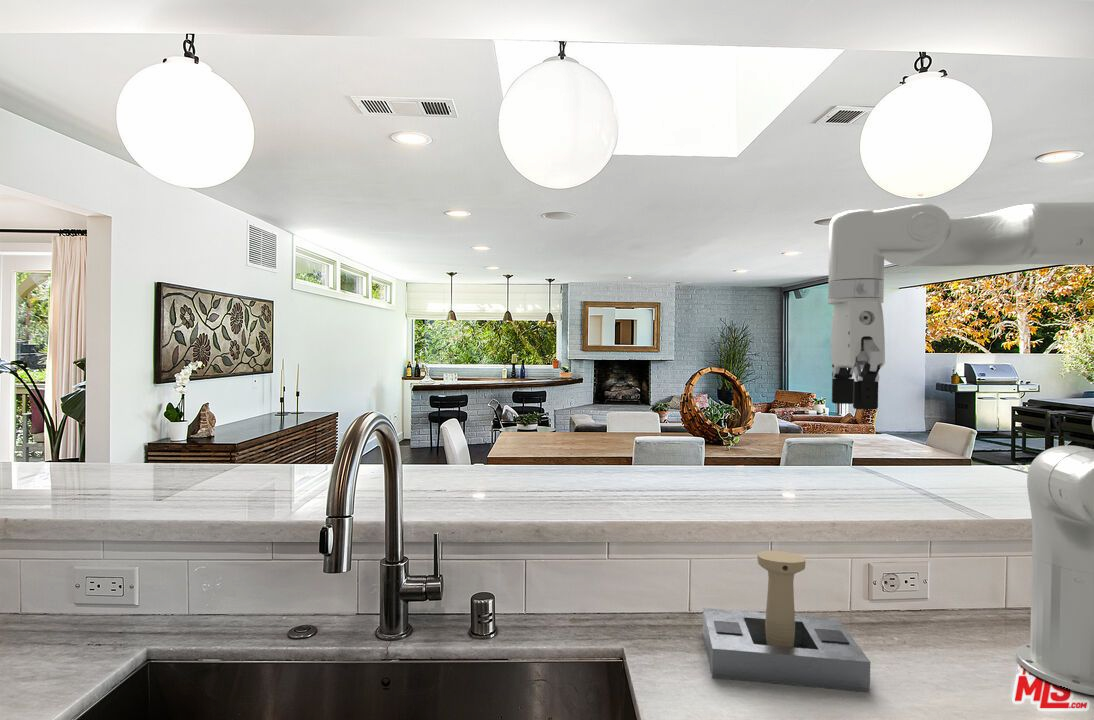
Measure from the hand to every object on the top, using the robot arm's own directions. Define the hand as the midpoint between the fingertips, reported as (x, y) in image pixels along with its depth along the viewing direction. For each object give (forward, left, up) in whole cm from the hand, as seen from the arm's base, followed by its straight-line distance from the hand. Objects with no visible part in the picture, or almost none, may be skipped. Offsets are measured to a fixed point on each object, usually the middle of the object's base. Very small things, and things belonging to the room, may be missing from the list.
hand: (853, 406), depth 91 cm
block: (+12, +8, -36) cm, 39 cm away
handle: (+12, +8, -36) cm, 39 cm away
